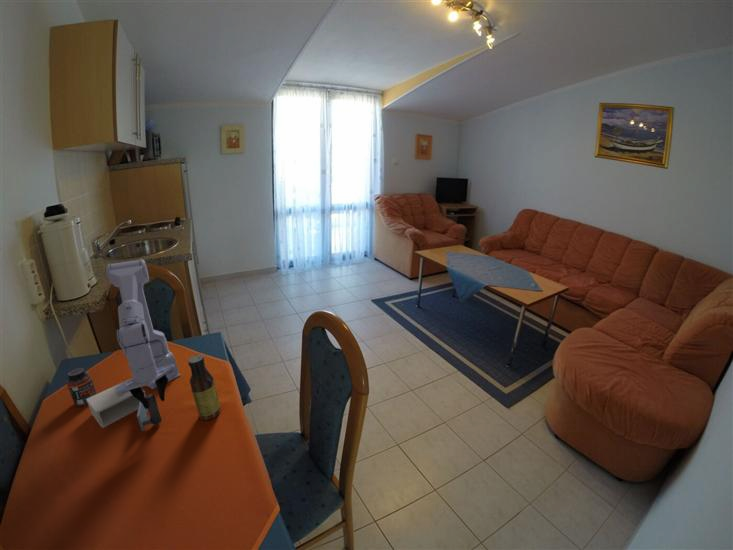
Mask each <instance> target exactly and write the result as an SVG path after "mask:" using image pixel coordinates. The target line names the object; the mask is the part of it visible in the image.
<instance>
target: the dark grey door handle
mask: <svg viewBox="0 0 733 550" xmlns="http://www.w3.org/2000/svg"><path fill="white" fill-rule="evenodd" d="M142 391H143V392H144V396H145V400H146V402H147V405H148V409H145V408H144V406H143V404H142V403H141V402H140V403H139V408H138V410H137V414H136V417H137V422H138V424H139V427H140V430H141V432H144V431H145V427H146V426H149V425H151V424H152V425H153V426H156V425H159V424H160V423H161V422H162V416H161V414H160V409H159V406H158V404H157V400H156V396H155V394H152V393H151V394H148V395H147V394H146V391H145V389H142ZM148 414H149V416H147V415H148Z"/></svg>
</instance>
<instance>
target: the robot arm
mask: <svg viewBox="0 0 733 550" xmlns="http://www.w3.org/2000/svg"><path fill="white" fill-rule="evenodd" d="M105 268H106V269H105V270H106V275H107V278H108V281H109V283H110V284H112V285H113V287H116V288H118V289H119V293H120V297H121V304H120V305H118V307H117V314H118V324H119V325H118V327H119V329H116V338H117V342H118V345H119V346H120V349H121V350H122V353H123V355H124V356H125V357H126V359H127V363H128V366H129V369H130V372H131V376H132V378H130V379H131V380H129V381H128V382H126V383H124V384H123V385H121V386H119V387H117V388H115V391H116V394H117V396H118V397H121V396H123V394H125V393H127V392H129V391H130V392H131V394H132V395H133V396H134V397H135V398H137V399H138V400H139V401H140V402H141V403H142V404H143V406H144V408H145V409H148V405H147V402H146V400H145V396H144V392H143V391H142V390H143V388H142V387H149V388H150V389H151V390H154V389H156V391H157V394H158V398H159V399H160V400H161V402H164V401H165V400H166V399H165V392H166V388H167V385H168V383H169V382H170V381H172V380H174V379H176V378H178V377H180V376H181V373H179V369H178V363H177V361H176V358H175V356H174V353H173V352H171V351H170V350H169V344H168V341H167V338H166V336H165V333H164V332H162V331H160V330H157V329H154V326H153V323H152V318H151V315H150V310H149V307H148V303H147V300H146V295H145V291H144V286H145V284H147V283H149V282H150V276H149V270H148V266H147V263H146V261H145V260H144V259H143V258H140V259H138V260H137V259H136V260H131V261H123V262H118V263H117V262H116V263H108V264H107V265H106V267H105Z"/></svg>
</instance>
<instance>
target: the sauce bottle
mask: <svg viewBox="0 0 733 550" xmlns="http://www.w3.org/2000/svg"><path fill="white" fill-rule="evenodd" d="M187 362H188V366H189V368H190V371H191V376H190V379H189V385H190V389H191V393H192V396H193V400H194V402H195V403H194V405H195V407H196V411H197V414H198V416H199V418H200V419H201V420H204V421H207V420H209V421H210V420H212V419H214V418H216V417H217V416H218V415H219V414H220V413H221V404H220V401H219V396H218V392H217V388H216V384H215V380H214V376H212V374H211V373H210V372H209V370H208V369H207V367H206V365H205V358H204V356H203V355H202V354H197V355H194V356H191V357H189V359H188V360H187Z"/></svg>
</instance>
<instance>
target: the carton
mask: <svg viewBox="0 0 733 550" xmlns="http://www.w3.org/2000/svg"><path fill="white" fill-rule="evenodd" d="M131 379H132V378H128V379H127V380H124V381H122V382H119V383H118V384H115V385H114V386H112V387H109V388H107V389H105V390H103V391H101V392H99V393H98V392H97V394H96V395H94V396H92V397H90V398H87V399H86V400H87V403H88V405H87V406H88V407H89V411H90V413H91V415H92V417H93V418H94V419H95V421H96V422H97V424H99V426H100V427H101V429H104V428H106V427H107V426H109V425H111V424H114V423H115V422H117V421H119V420H121V419H122V418H124V417H127V416H128V415H130V414H132V413H134V412H136V411H138V408H139V403H140V401H139V400H138V399H137V398H135V397H134V396H133V395H132V394H131V392H130V391H129V392H127V393H125V394H123V396H121V397H118V396H117V394H116V391H115V388H117V387H119V386H121V385H123V384H124V383H126V382H128V381H129V380H131Z"/></svg>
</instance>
